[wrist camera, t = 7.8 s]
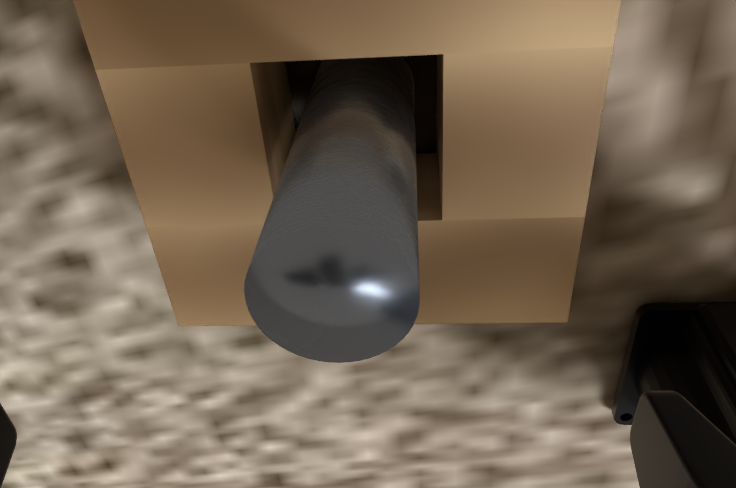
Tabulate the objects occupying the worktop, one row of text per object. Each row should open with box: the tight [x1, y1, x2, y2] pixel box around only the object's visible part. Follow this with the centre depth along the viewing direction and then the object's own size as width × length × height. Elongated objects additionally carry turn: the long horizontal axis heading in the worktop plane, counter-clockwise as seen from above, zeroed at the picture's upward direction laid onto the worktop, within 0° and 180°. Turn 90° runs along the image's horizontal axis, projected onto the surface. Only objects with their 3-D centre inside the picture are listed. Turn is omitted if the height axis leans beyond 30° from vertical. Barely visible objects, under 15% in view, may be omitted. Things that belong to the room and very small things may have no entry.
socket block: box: [73, 0, 621, 326], centre depth 17 cm, size 12×12×4 cm
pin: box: [244, 56, 420, 363], centre depth 15 cm, size 3×3×10 cm
